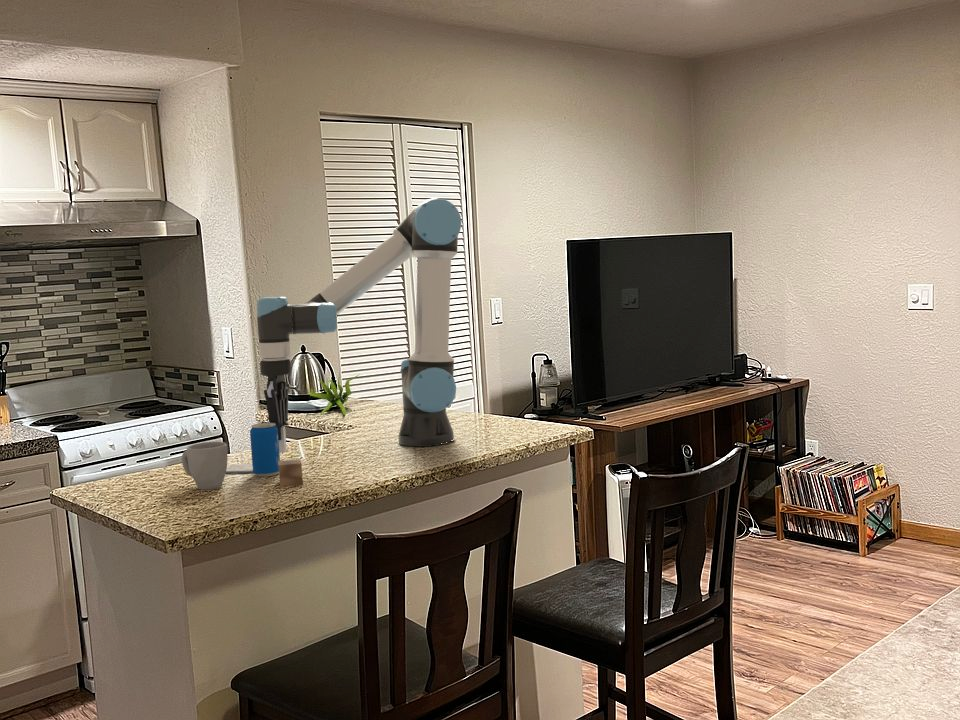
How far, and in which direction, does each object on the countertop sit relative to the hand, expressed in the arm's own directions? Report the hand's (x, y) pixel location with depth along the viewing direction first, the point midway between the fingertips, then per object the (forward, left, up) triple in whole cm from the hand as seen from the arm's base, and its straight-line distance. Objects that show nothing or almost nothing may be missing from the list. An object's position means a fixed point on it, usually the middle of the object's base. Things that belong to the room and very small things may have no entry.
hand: (280, 452), depth 231 cm
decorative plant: (+5, -82, -3) cm, 82 cm away
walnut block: (-9, +22, -3) cm, 24 cm away
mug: (+11, +23, -3) cm, 26 cm away
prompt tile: (+8, +6, -3) cm, 10 cm away
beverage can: (0, +12, -3) cm, 12 cm away
